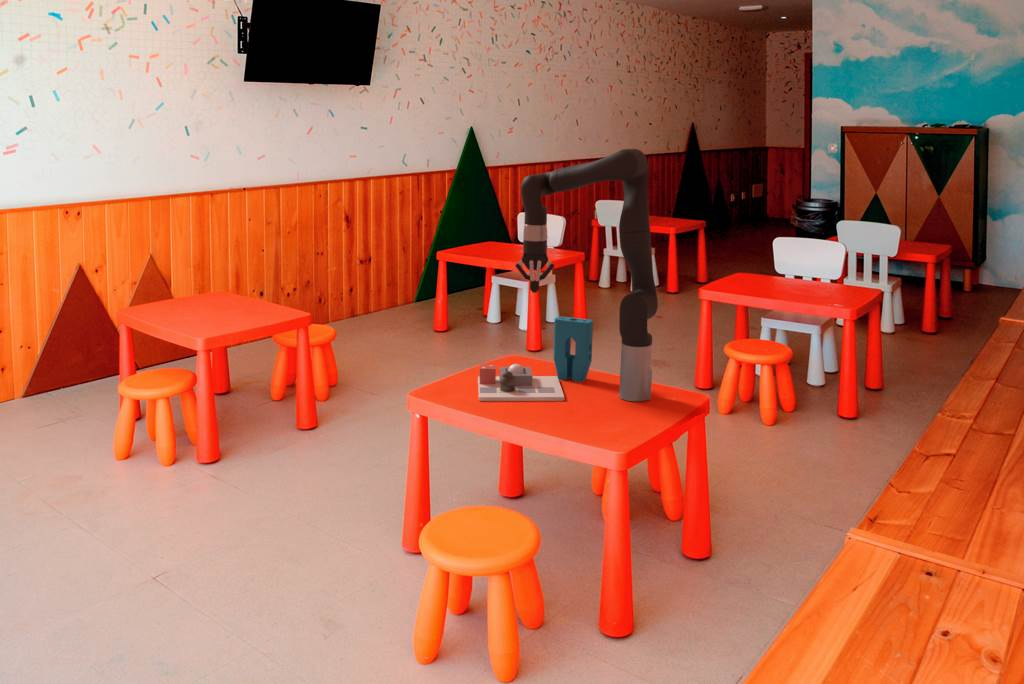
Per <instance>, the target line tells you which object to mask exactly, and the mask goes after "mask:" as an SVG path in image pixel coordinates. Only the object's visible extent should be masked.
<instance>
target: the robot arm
mask: <svg viewBox="0 0 1024 684" xmlns="http://www.w3.org/2000/svg"><path fill="white" fill-rule="evenodd" d="M648 163H649V162H648V159H647V156H646V154H645V153H644V152H643V151H642V150H641V149H637V148H624V149H620V150H619V151H616V152H614V153H611V154H610V155H607V156H605V157H602V158H601V159H598V160H597V159H596V160H594V161H591V162H586V163H580V164H574V165H569V166H566V167H560V168H557V169H554V170H552V171H549V172H543V173H536V174H529V175H527V176H525V177H524V178H523V179H522V182H521V185H520V196H521V200H522V205H523V208H524V221H523V222H524V226H523V234H522V236H523V239H522V241H523V242H522V243H523V244H522V245H523V250H522V256H521V260H520V261H518V262H516V263H515V264H514V265H515V268H516V269H517V270H518V271H519V273H520V274H521V275H522V277H523V279H525V280H528V281H529V289H530V291H531V293H532V294H534V293H535V294H536V293H538V292H539V290H540V281H541V280H545V279H546V278H547V276H548V275H549V274H550V273H551V271H552V270H553V269H554V268H555V264H554V262H551V261H550V260H549V257H548V228H547V227H548V226H547V222H548V211H547V207H546V206H545V205H543V201H542V197H545V196H549V195H553V194H556V193H561V192H563V193H564V192H567V191H573V190H576V189H580V188H583V187H586V186H590V185H592V184H596V183H600V182H611V181H614V182H615V181H622V186H623V203H622V204H623V205H622V209H621V213H620V219H619V225H618V233H619V234H618V235H619V245H620V250H621V253H622V256H623V258H624V261H625V263H626V265H627V267H628V269H629V273H630V277H631V292H630V293H628V294H626V295H624V296H623V297H622V299H621V301H620V305H619V321H618V322H619V325H618V326H619V329H618V330H619V334H620V337H621V344H620V345H621V347H620V349H621V350H620V366H619V367H620V370H619V390H618V392H619V394H618V398H620V399H622V400H625V401H628V402H645V401H651V398H652V381H653V380H652V379H653V369H652V367H651V366H652V353H653V351H652V350H653V349H652V348H653V336H652V334H651V333H650V332H649V331H648V320H650V319H651V318H653V317H654V316H656V313H657V311H658V309H659V301H658V294H657V289H656V282H655V277H654V270H653V269H654V266H653V264H654V263H653V253H652V238H651V237H652V236H651V223H650V211H649V202H648V180H649V179H648V175H649V166H648ZM524 266H525V267H526V269H527V270H528V272H529V273H526V271H525V270H524ZM545 266H546V267H545ZM544 267H545V270H544V271H543V272H542V273H541V270H543V268H544ZM534 273H535V274H534Z"/></svg>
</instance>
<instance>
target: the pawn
mask: <svg viewBox="0 0 1024 684" xmlns="http://www.w3.org/2000/svg"><path fill="white" fill-rule="evenodd" d="M500 390H501V391H503V392H512V391H514V390H515V376H514V375H513V374H512V373H511V372H510V371H506V372H504V373H503V375H501V386H500Z"/></svg>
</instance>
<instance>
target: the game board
mask: <svg viewBox="0 0 1024 684" xmlns="http://www.w3.org/2000/svg"><path fill="white" fill-rule="evenodd" d="M477 387H478V389H477V390H478V391H477V392H478V401H479V402H532V401H533V402H546V401H547V402H549V401H550V402H560V401H561V402H562V401H565V395H564V392H563V390H562V386H561V384H560V379H558V376H557V375H554V376H553V375H543V376H542V375H540V376H539V375H538V376H537V375H532V386H515V390H514V391H512V392H503V391H501V390H500V378H499V375H497V376H496V384H480V375H479V376H477Z"/></svg>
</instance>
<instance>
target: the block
mask: <svg viewBox="0 0 1024 684" xmlns="http://www.w3.org/2000/svg"><path fill="white" fill-rule="evenodd" d="M553 325H554V328H553V329H554V331H553V332H554V333H553V335H554V336H553V363H554V367H555V370H556V371H555V372H556V376H557V377H558V380H559V381H567V380H568V379H571V380H572V382H574V383H575V382H577V383H583V382H584V381H586V379H587V377H588V374H589V371H590V367H591V363H592V362H593V361H592V360H593V359H592V357H593V355H592V354H593V329H594V320H593V319H588V318H577V317H570V316H569V317H568V316H557V317H556V318H554V324H553ZM572 340H573V341H574V343H575V344H574V345H575V346H574V347H575V350H574V352H575V353H574V354H572V353H571V347H572V346H571V343H572V342H571V341H572Z"/></svg>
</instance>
